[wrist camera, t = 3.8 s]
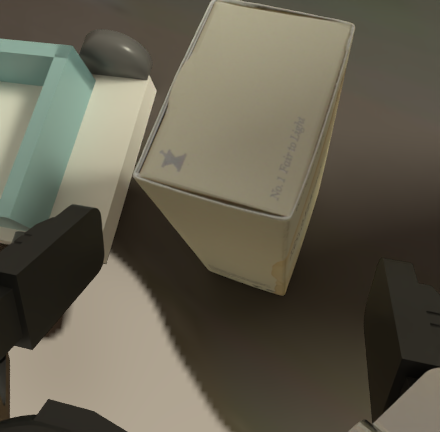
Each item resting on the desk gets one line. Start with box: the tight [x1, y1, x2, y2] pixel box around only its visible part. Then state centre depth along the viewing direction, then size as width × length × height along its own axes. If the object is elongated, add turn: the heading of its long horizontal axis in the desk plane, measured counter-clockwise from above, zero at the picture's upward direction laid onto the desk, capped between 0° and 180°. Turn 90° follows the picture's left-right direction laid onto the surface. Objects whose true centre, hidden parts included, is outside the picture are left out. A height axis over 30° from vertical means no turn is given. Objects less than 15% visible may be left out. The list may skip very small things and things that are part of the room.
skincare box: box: [133, 0, 355, 296], centre depth 17 cm, size 6×4×12 cm
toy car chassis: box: [0, 29, 156, 264], centre depth 23 cm, size 14×13×4 cm
